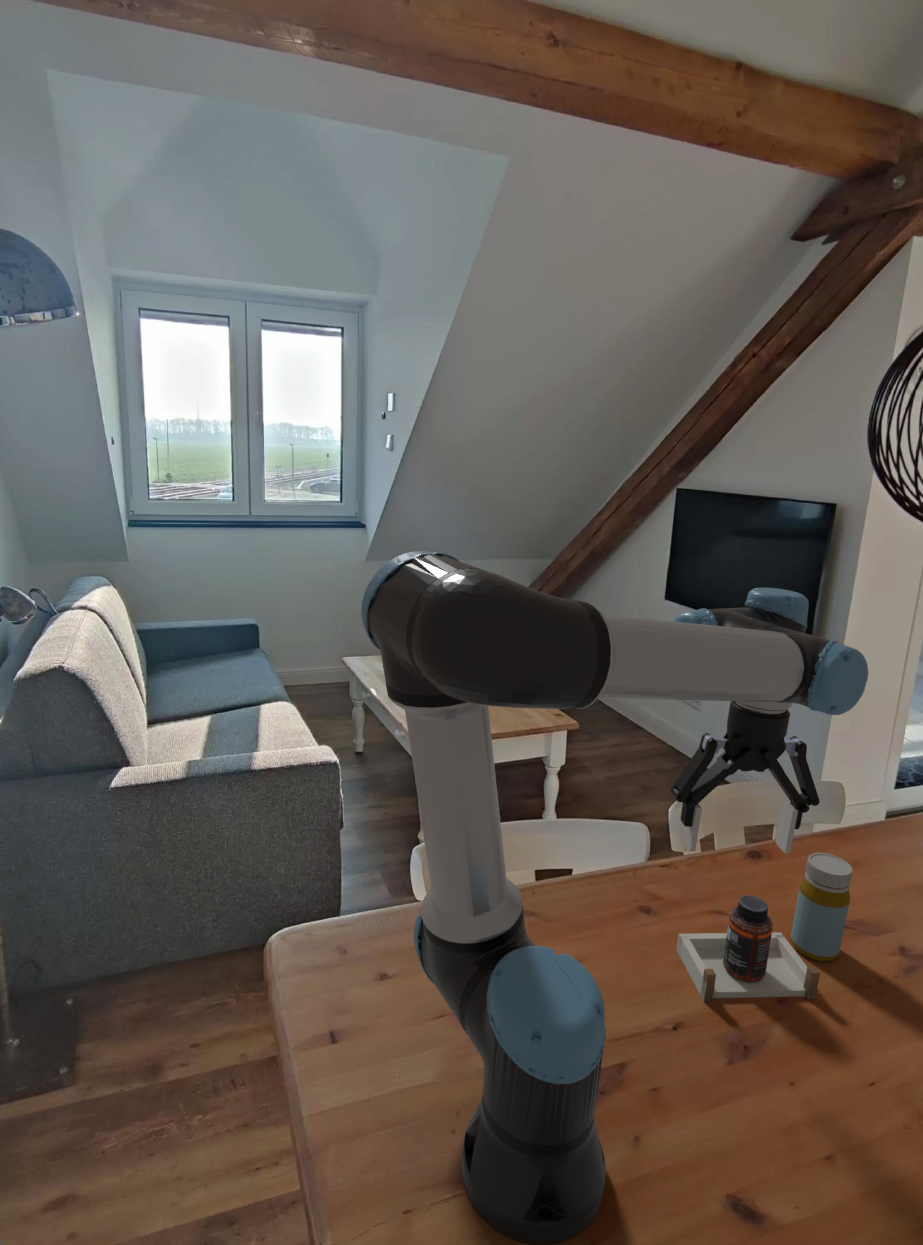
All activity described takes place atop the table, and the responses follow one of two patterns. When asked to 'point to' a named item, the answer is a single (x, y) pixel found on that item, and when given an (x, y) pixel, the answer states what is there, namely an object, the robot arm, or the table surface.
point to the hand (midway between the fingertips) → (736, 847)
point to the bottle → (822, 907)
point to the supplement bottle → (748, 939)
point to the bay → (714, 981)
